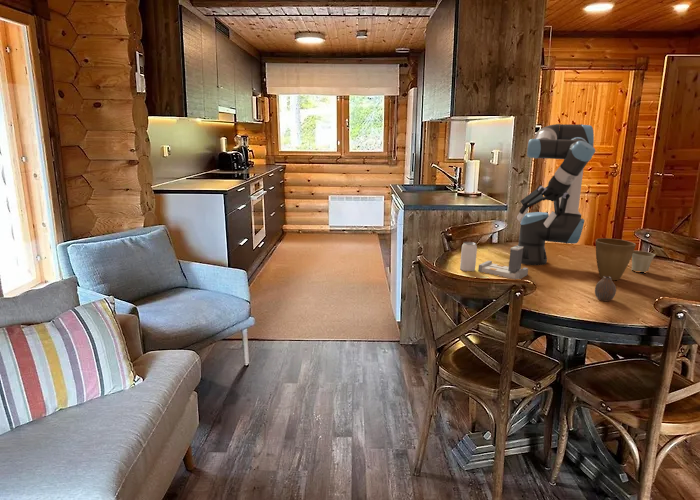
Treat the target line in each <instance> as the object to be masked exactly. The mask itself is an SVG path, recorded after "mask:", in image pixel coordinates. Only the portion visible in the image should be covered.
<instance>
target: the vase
mask: <svg viewBox="0 0 700 500" xmlns="http://www.w3.org/2000/svg"><path fill="white" fill-rule="evenodd" d="M594 295H595V297H596V298H597V299H598V300H599V301H602V300H603V302H610V301H612V300H613V299H614V298H615V296H616V295H617V287H616V284H615V282H614V281H612V279H611V277H609V276H604V277H603V278H601V279H600V280H599V281H597V283H596V285H595V287H594Z"/></svg>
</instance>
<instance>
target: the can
mask: <svg viewBox="0 0 700 500" xmlns="http://www.w3.org/2000/svg"><path fill="white" fill-rule="evenodd" d="M477 253H478V246H477V243H476V242H473V241H463V244H462V245H461V253H460V265H459V269H460V270H461V271H462V272H467V271H472V272H474V271H475V270H476V266H477V265H476V264H477V263H476V262H477Z"/></svg>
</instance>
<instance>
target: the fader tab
mask: <svg viewBox="0 0 700 500" xmlns="http://www.w3.org/2000/svg"><path fill="white" fill-rule="evenodd" d="M522 253H523V247H522V246H518V245H514V246H512V247H510V251H509V259H508V260H509V261H508V267H509V269H508V271H511V272H517V271H519V270H520V269H522V264H521V262H522Z"/></svg>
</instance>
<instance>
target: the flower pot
mask: <svg viewBox="0 0 700 500" xmlns="http://www.w3.org/2000/svg"><path fill="white" fill-rule="evenodd" d="M654 257H656V254H655V253H652V252H649V251H644V250H634V251H633V254H632V257H631V271H632V270H635V271H641V272H646V271H648V272H649V270H650V266H651V263H652V261H653V259H654Z"/></svg>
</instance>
